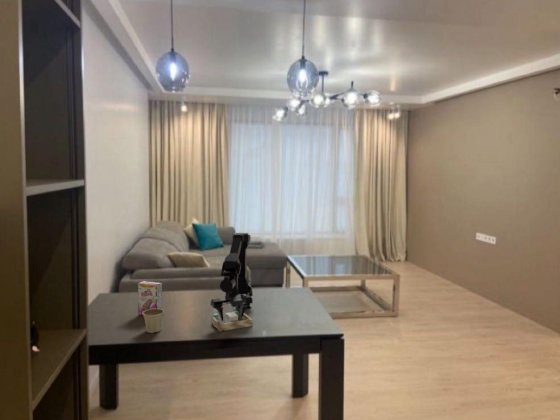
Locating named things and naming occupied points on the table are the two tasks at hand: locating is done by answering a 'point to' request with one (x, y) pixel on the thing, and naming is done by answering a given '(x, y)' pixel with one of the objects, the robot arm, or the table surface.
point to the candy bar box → (149, 296)
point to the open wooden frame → (233, 323)
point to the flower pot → (153, 319)
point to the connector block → (231, 317)
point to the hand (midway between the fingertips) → (231, 319)
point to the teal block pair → (217, 315)
